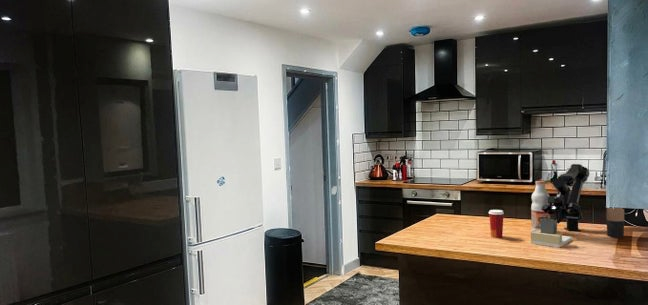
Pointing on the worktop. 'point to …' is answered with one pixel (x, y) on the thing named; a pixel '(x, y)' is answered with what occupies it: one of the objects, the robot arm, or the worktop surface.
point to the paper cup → (496, 223)
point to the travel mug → (615, 222)
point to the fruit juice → (539, 205)
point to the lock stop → (548, 226)
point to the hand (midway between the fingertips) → (557, 223)
